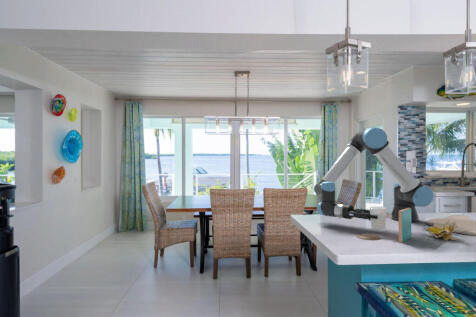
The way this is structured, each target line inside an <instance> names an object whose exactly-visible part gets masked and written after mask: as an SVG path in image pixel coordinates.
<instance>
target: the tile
mask: <svg viewBox="0 0 476 317" xmlns="http://www.w3.org/2000/svg"><path fill="white" fill-rule="evenodd" d="M411 236H412V222H411V208H406V209H403V210H400V211H399V221H398V238H399V242H401V243H400V244H403V243H402V242H404V241H406V240H408V239H410V238H411Z"/></svg>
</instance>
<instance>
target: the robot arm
mask: <svg viewBox="0 0 476 317" xmlns="http://www.w3.org/2000/svg"><path fill="white" fill-rule="evenodd" d="M365 150H367V152H368V153H369V155H371V156H375V157H376V158H377V160H378V161H379V162H380V163H381V164H382V165H383V167H384V168H385V170H387V172H388V173H389V175H391V177H392V178H393V179H394V180H395V182H394V185H393V208H392V211H391V212H390V211H389V212H388V211H387V214H386V219H391V220H393V221H397V222H399V211H400V210H403V209H406V208H411V223H412V222H419V219H420V216H419V214H418V211H417V209H416V207H420V208H425V207H428V206H429V205H431V204H432V202H433V201H434V196H435V194H434V191H433V189H431V188H430V187H429V186H427V185H426V186H425V185H424V183H423V182H422V181H421V180H420V179H419V178H415V177H414V176H413V175H412V173H411V172H410V171H409V170H408V168H407V167H406V166H405V165H404V164H403V162H402V161H401V159H399V158H398V156H397V154H395V153H394V151H393V150H392V149H391V148H390V142H389V141H388V135H387V133H386V131H384V129H382V128H380V127H374V126H373V127H368V128H363V129H361V130H358V131H357V132H356V133H355V134H354V135H353V136H352V138H351V139H350V140H349V142H348V143H347V145H346V148H345V150H344V151H342V154H340V155H339V157H338V158H337V160H336V161H335V162H334V163H333V164H332V165H331V167H330V169H329V170H328V171H327V172H326V173H325V174H324V176H323V177H322V178H321V179H320V181H319V182H317V183H315V184H314V186H313V192H314V193H315V194H316V195H317V196H320V197H321V201H319V203H318V204H317V207H316V211H317V213H318V215H321V216H325V217H330V218H331V217H332V218H338V219H339V220H340V219H347V220H351V219H353V218H355V219H356V218H357V219H362V220H367V221H371V219H374V220H382V221H385V215H381V214H370V209H364V208H354V206H353V205H351V204H344V203H336V184H335V183H337V181H339V179H340V177H341V176H342V175H343V173H344V172H345V171H346V170H347V169H348V167H350V165H351V164H352V162H354V160H355V159H356V158H357V156H359V155H361V154H362V153H363V152H364V151H365Z"/></svg>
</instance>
